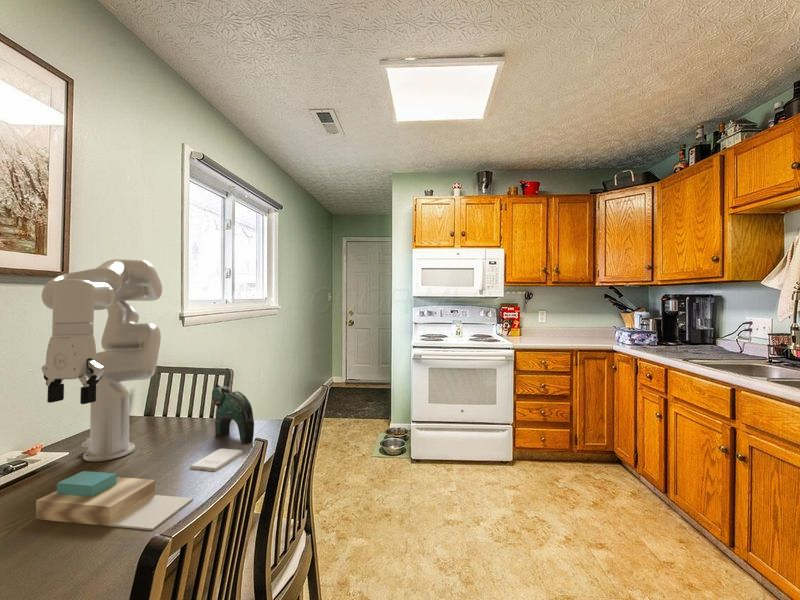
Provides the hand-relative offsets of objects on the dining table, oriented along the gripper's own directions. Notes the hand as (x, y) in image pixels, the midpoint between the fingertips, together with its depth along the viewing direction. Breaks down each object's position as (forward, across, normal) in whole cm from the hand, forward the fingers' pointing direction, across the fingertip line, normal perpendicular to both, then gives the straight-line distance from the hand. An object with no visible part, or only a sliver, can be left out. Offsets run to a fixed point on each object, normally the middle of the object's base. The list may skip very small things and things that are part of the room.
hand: (71, 402), depth 90 cm
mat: (+23, +24, -1) cm, 34 cm away
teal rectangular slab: (+19, +7, -2) cm, 20 cm away
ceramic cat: (+22, +12, +44) cm, 51 cm away
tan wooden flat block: (+23, +10, -2) cm, 25 cm away
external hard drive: (+23, +20, +26) cm, 40 cm away
